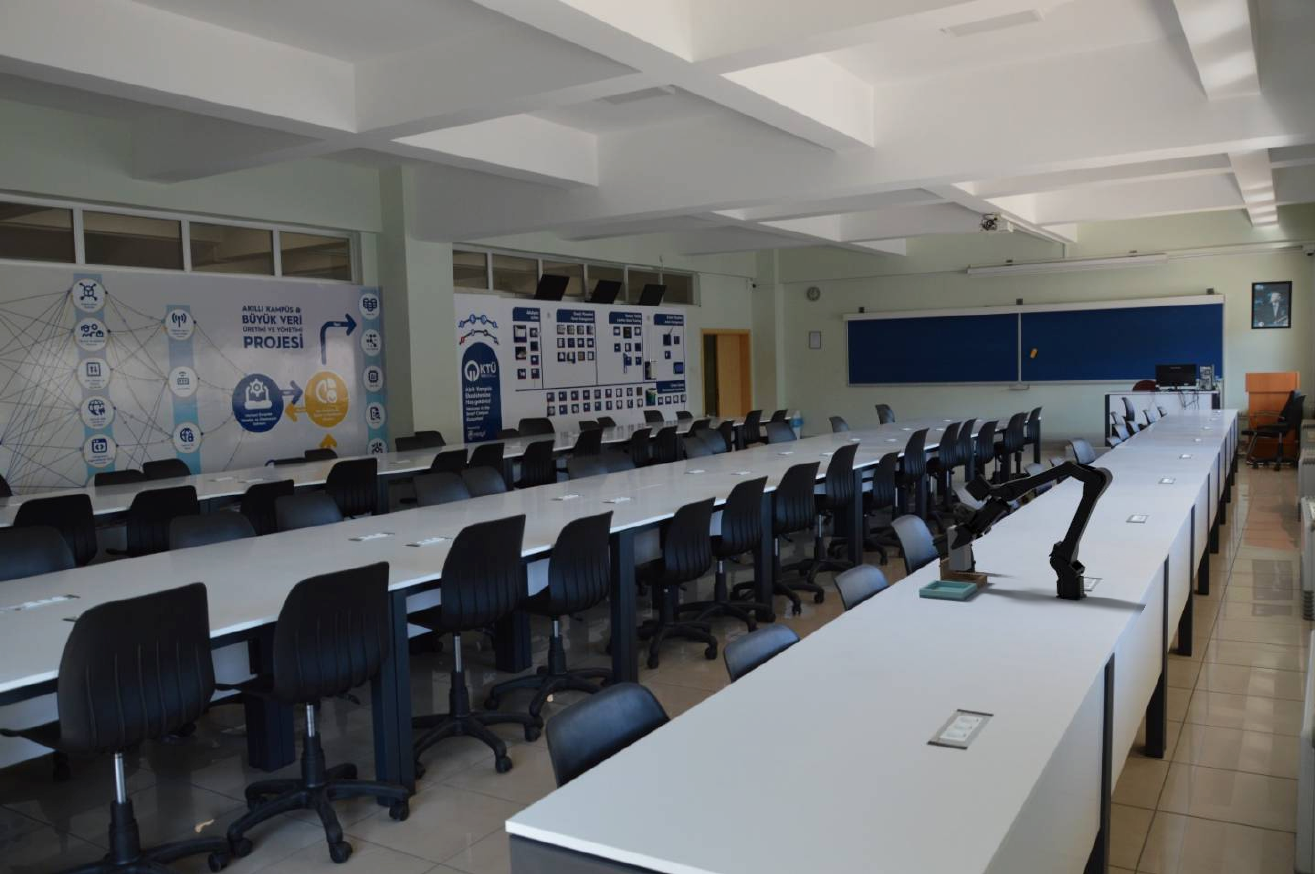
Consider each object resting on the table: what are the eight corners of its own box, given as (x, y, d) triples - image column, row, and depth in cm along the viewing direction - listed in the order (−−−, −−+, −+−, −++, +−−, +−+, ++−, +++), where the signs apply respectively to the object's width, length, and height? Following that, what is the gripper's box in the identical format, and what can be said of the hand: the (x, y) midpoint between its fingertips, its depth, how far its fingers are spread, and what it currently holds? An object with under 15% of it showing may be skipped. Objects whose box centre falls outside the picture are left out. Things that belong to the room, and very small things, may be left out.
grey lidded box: (971, 567, 302) (969, 525, 302) (965, 570, 298) (963, 528, 297) (955, 566, 305) (953, 525, 305) (949, 569, 301) (947, 528, 300)
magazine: (983, 569, 318) (961, 527, 320) (946, 584, 324) (925, 543, 326) (985, 566, 321) (963, 525, 323) (949, 581, 327) (928, 541, 330)
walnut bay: (987, 582, 306) (986, 557, 306) (976, 590, 297) (975, 564, 296) (952, 579, 313) (951, 555, 312) (940, 587, 303) (939, 561, 303)
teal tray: (977, 591, 296) (976, 583, 295) (962, 601, 285) (962, 593, 284) (935, 587, 303) (934, 580, 303) (919, 597, 292) (919, 589, 292)
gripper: (979, 490, 305) (946, 523, 313) (959, 498, 291) (925, 533, 298) (1006, 515, 301) (972, 549, 309) (986, 525, 286) (951, 560, 294)
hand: (954, 547), depth 302 cm, fingers closed on grey lidded box, 5 cm apart
